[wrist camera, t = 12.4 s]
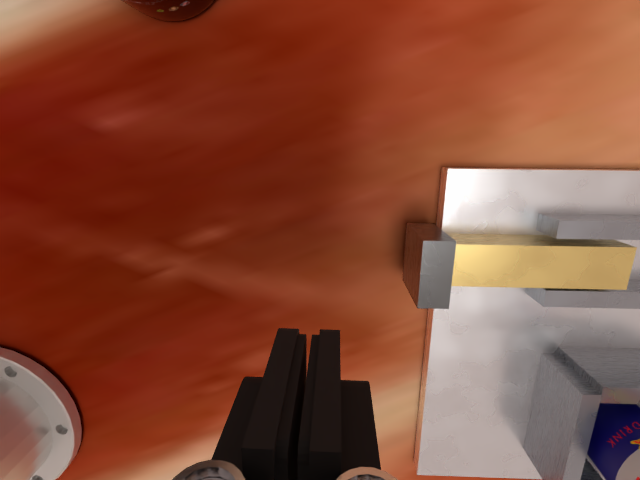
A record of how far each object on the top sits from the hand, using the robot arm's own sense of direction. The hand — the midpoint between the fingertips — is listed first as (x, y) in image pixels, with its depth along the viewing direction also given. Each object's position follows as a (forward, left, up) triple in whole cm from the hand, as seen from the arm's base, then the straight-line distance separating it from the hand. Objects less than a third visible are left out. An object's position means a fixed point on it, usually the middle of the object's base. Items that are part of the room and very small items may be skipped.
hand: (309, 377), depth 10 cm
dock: (+16, -6, -14) cm, 22 cm away
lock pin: (+11, 0, -13) cm, 17 cm away
